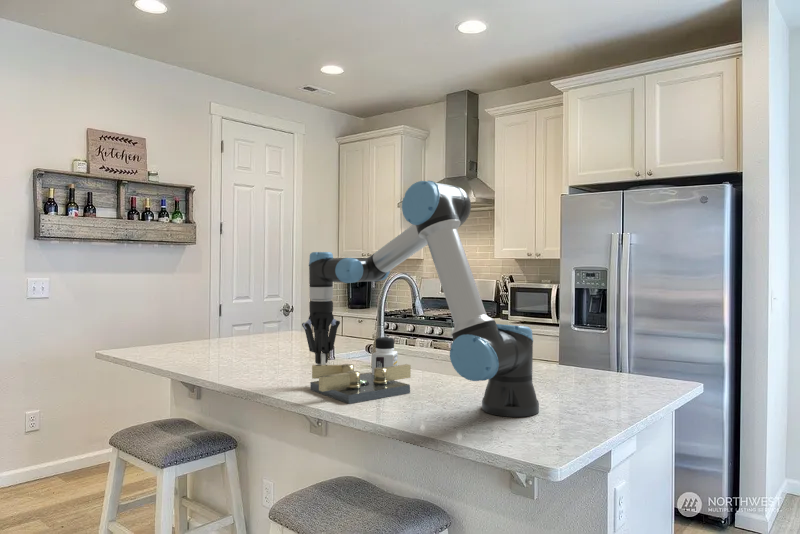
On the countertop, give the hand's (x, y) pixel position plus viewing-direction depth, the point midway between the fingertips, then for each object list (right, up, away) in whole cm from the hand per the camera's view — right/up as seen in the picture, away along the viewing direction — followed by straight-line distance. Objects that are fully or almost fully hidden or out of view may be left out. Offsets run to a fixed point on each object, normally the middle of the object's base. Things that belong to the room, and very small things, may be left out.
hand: (321, 373), depth 187 cm
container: (+20, -4, +19) cm, 28 cm away
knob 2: (+23, -1, -5) cm, 23 cm away
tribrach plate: (+13, -4, -8) cm, 16 cm away
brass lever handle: (+4, -1, -3) cm, 5 cm away
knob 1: (+8, -1, -17) cm, 19 cm away
